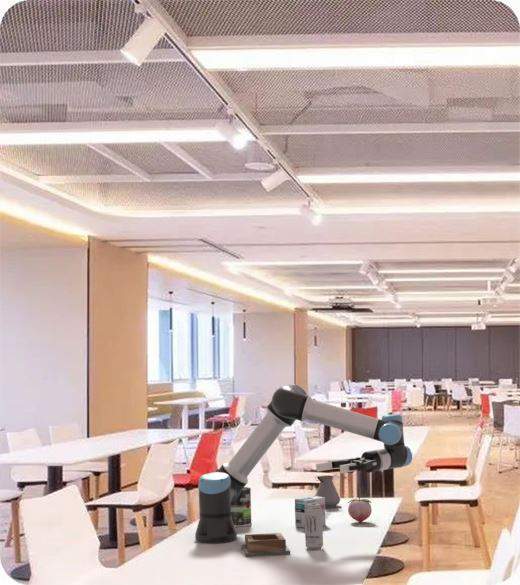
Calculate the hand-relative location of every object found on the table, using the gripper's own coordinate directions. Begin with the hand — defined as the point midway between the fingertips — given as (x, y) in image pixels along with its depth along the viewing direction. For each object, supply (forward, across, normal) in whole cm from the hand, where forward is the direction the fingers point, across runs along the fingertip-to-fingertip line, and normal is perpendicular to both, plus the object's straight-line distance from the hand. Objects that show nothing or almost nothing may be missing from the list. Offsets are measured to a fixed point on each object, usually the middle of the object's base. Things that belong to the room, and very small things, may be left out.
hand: (328, 468), depth 346 cm
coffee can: (+3, +57, -24) cm, 62 cm away
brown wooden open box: (+24, +8, -25) cm, 36 cm away
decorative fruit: (-35, +29, -27) cm, 53 cm away
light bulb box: (-16, +36, -26) cm, 48 cm away
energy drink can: (+8, +1, -26) cm, 28 cm away
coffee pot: (-45, +65, -26) cm, 84 cm away
